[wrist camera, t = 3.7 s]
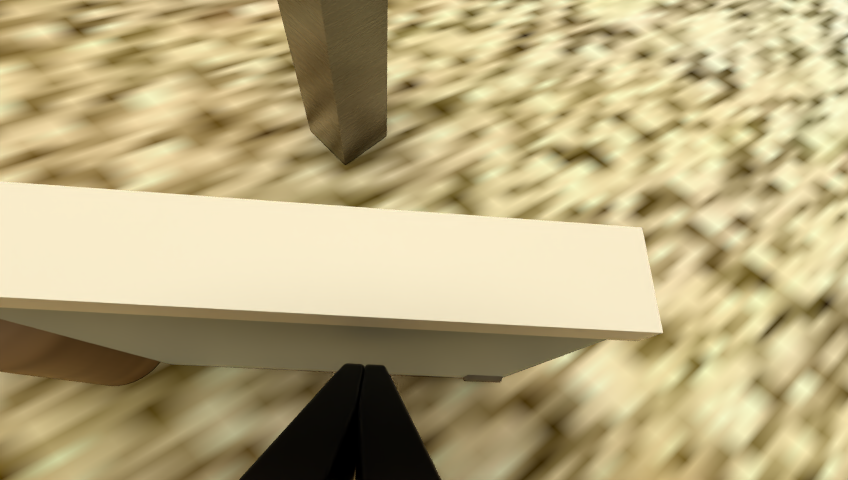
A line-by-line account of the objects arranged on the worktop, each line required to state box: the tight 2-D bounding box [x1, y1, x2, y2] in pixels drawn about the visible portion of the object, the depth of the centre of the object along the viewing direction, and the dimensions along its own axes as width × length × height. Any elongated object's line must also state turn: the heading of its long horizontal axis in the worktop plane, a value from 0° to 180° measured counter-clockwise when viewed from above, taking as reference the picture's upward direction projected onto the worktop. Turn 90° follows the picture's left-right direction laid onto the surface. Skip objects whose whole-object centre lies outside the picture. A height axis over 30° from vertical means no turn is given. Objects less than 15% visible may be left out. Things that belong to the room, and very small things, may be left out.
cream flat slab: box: [0, 182, 663, 382], centre depth 11 cm, size 12×2×10 cm, turn 88°
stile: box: [278, 0, 388, 165], centre depth 15 cm, size 3×3×11 cm
